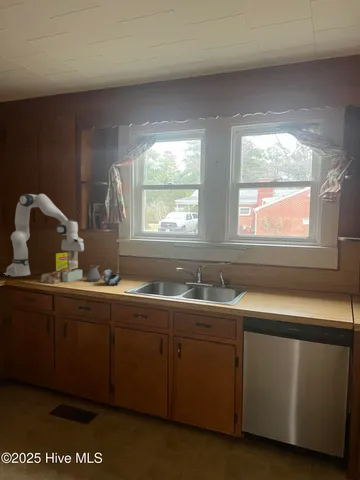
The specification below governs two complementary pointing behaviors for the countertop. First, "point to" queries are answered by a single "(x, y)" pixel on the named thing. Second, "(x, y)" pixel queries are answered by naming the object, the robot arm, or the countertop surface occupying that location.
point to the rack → (50, 278)
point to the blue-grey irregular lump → (110, 277)
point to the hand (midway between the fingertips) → (72, 256)
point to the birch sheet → (72, 260)
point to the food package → (61, 262)
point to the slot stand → (72, 275)
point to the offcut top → (57, 274)
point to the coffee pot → (94, 273)
